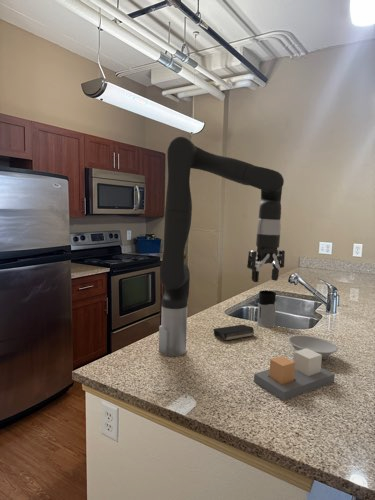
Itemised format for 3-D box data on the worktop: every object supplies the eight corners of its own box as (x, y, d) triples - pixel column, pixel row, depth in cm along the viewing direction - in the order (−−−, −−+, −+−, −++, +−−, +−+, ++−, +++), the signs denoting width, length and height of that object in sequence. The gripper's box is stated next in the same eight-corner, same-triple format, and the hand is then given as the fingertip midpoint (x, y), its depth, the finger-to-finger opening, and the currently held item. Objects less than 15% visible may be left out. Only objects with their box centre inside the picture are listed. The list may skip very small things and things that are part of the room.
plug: (281, 392, 98) (282, 366, 97) (268, 384, 103) (270, 359, 102) (293, 388, 101) (295, 362, 100) (280, 380, 105) (282, 355, 104)
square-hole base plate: (283, 400, 94) (285, 373, 93) (253, 381, 104) (255, 356, 103) (334, 381, 105) (336, 357, 104) (302, 366, 115) (304, 343, 115)
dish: (279, 354, 124) (279, 341, 124) (296, 344, 135) (297, 331, 134) (327, 371, 112) (328, 356, 112) (343, 358, 123) (344, 344, 122)
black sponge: (222, 343, 135) (223, 334, 134) (211, 335, 142) (212, 327, 142) (255, 337, 142) (256, 328, 142) (243, 330, 149) (244, 322, 149)
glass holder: (278, 327, 154) (280, 294, 152) (247, 327, 152) (248, 294, 151) (272, 321, 162) (273, 290, 160) (242, 321, 161) (244, 290, 159)
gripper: (259, 234, 106) (256, 285, 108) (292, 233, 113) (288, 281, 115) (244, 232, 113) (241, 280, 115) (276, 232, 120) (272, 277, 122)
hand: (265, 280), depth 115 cm, fingers open, 8 cm apart
